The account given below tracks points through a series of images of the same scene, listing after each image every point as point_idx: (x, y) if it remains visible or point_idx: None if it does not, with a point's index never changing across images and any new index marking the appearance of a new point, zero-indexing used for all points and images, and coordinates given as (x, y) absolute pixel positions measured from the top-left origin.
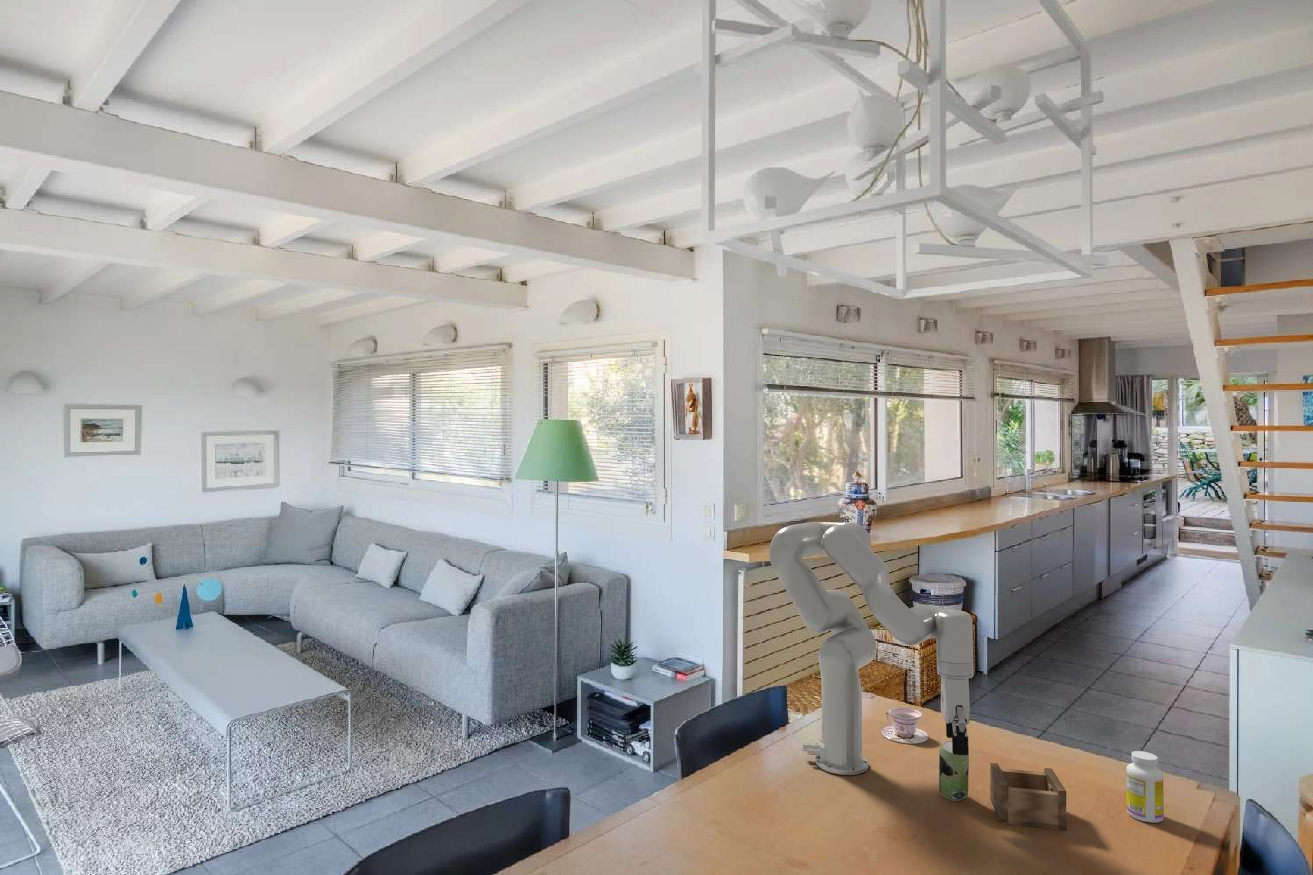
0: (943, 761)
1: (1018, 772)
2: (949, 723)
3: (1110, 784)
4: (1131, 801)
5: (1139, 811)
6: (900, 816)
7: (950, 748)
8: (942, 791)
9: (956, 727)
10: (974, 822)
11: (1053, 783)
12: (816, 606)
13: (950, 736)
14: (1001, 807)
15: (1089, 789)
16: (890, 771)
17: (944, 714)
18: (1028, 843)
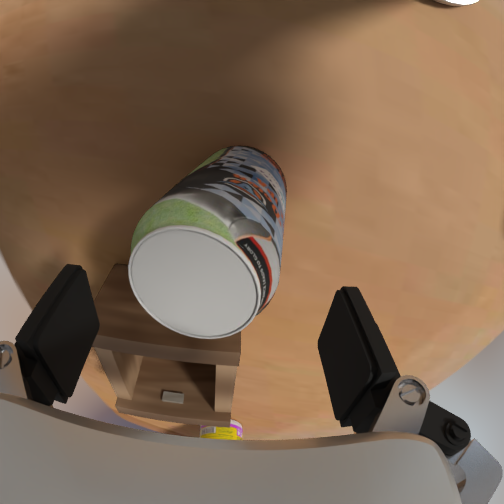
0: (167, 193)
1: (216, 382)
2: (358, 368)
3: (315, 419)
4: (211, 435)
5: (203, 429)
6: (87, 24)
7: (176, 267)
8: (215, 153)
9: (337, 375)
10: (98, 208)
11: (151, 410)
12: None
13: (333, 306)
14: (102, 289)
15: (299, 405)
16: (406, 44)
17: (12, 470)
18: None
